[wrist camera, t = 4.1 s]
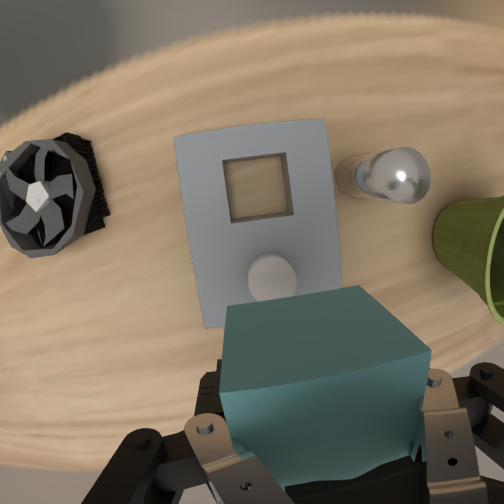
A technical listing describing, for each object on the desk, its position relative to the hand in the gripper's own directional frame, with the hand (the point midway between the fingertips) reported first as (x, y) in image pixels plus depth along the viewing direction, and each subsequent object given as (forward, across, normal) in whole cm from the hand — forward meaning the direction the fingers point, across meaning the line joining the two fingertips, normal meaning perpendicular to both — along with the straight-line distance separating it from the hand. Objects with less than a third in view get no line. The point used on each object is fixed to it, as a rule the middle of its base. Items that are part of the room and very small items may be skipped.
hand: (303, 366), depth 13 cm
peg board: (+17, 0, -4) cm, 17 cm away
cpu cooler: (+17, +19, -10) cm, 27 cm away
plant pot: (+17, -21, 0) cm, 27 cm away
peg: (+17, -9, -7) cm, 20 cm away
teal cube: (+1, 0, 0) cm, 1 cm away
